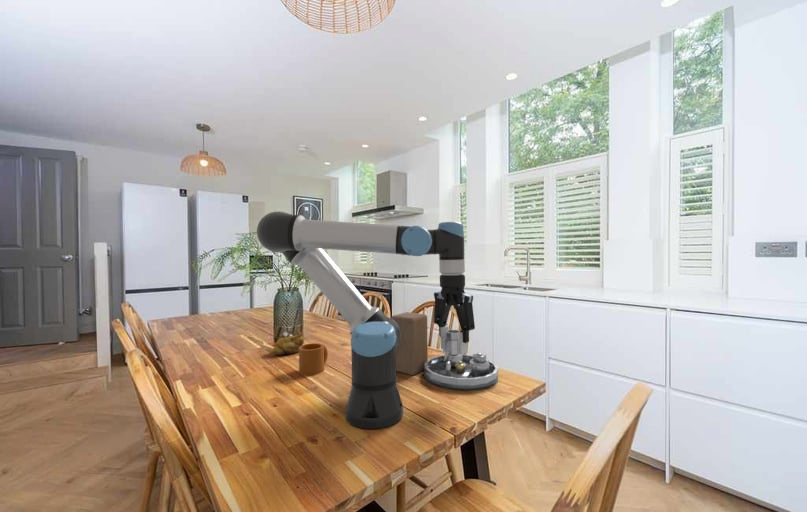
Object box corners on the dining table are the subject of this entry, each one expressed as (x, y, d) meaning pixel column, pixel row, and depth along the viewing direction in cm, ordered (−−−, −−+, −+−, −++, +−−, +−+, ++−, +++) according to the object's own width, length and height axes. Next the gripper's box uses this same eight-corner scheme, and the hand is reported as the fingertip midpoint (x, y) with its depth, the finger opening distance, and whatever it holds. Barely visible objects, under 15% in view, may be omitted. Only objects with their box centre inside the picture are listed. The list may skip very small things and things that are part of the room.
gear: (455, 356, 96) (454, 335, 95) (438, 351, 101) (437, 331, 101) (470, 351, 100) (470, 331, 100) (453, 346, 105) (452, 327, 105)
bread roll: (275, 358, 136) (275, 339, 136) (268, 353, 144) (268, 334, 144) (306, 352, 144) (305, 334, 144) (297, 347, 152) (297, 330, 152)
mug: (336, 368, 124) (336, 344, 124) (307, 377, 116) (307, 352, 115) (322, 362, 131) (322, 339, 130) (294, 371, 122) (294, 346, 121)
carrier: (468, 397, 98) (467, 370, 98) (409, 375, 116) (409, 352, 116) (512, 375, 115) (512, 352, 115) (454, 358, 133) (454, 338, 133)
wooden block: (413, 376, 115) (412, 318, 115) (390, 370, 121) (389, 315, 121) (428, 368, 123) (428, 314, 123) (407, 363, 129) (406, 311, 129)
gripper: (487, 274, 95) (489, 355, 95) (437, 272, 110) (439, 341, 110) (470, 276, 90) (472, 361, 90) (420, 273, 105) (422, 346, 106)
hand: (454, 350), depth 100 cm, fingers closed on gear, 7 cm apart
